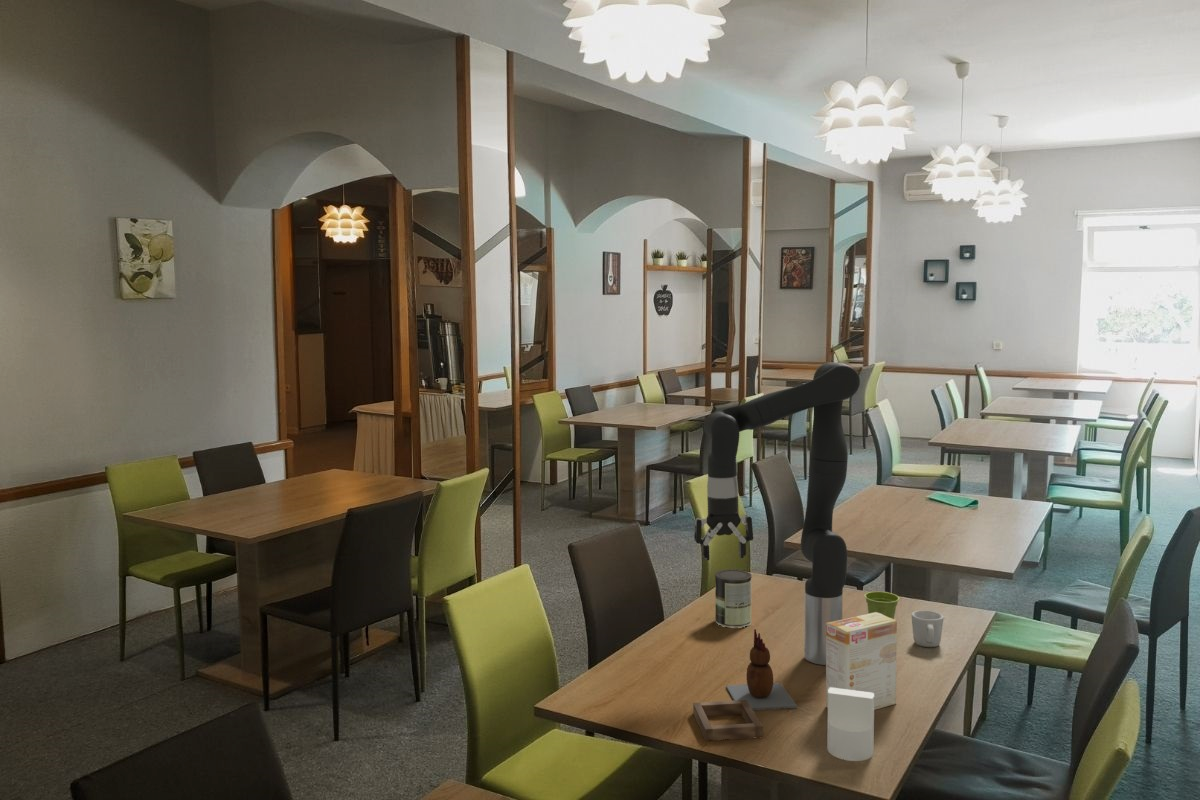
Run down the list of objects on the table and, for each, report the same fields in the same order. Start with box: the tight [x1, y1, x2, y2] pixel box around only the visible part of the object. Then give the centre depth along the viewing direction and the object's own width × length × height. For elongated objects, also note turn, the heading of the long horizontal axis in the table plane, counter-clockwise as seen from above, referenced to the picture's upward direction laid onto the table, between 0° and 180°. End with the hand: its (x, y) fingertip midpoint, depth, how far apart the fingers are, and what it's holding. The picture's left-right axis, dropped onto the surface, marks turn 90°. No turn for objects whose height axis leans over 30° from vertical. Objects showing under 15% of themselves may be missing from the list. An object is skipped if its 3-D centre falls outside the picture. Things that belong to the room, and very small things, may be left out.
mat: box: [726, 682, 798, 711], centre depth 211 cm, size 13×13×1 cm
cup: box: [910, 609, 945, 648], centre depth 241 cm, size 11×8×8 cm
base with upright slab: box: [826, 687, 875, 762], centre depth 184 cm, size 9×9×12 cm
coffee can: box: [714, 569, 753, 629], centre depth 261 cm, size 10×10×14 cm
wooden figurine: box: [746, 628, 774, 698], centre depth 210 cm, size 7×6×15 cm
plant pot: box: [863, 591, 900, 620], centre depth 256 cm, size 9×9×9 cm
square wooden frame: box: [692, 700, 763, 741], centre depth 197 cm, size 12×13×2 cm
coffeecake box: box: [825, 612, 898, 711], centre depth 205 cm, size 15×7×20 cm, turn 117°
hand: (724, 558), depth 227 cm, fingers open, 8 cm apart
